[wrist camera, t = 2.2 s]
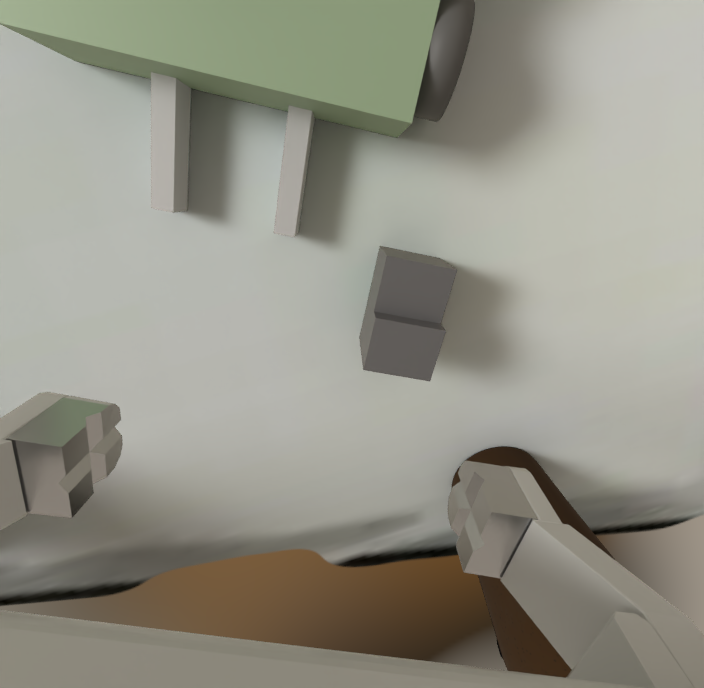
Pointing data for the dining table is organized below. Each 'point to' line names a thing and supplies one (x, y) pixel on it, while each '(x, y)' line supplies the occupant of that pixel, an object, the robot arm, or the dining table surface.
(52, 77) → the dining table surface
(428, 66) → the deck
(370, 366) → the grey stepped block
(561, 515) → the olive oil
